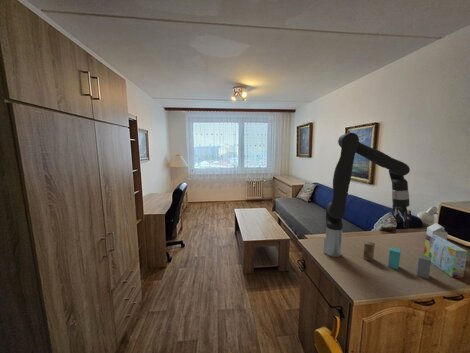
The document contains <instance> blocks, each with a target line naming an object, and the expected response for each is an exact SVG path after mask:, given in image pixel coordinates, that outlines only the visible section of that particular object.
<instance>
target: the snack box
mask: <svg viewBox="0 0 470 353" xmlns="http://www.w3.org/2000/svg"><path fill="white" fill-rule="evenodd" d="M424 242H425V243H424V249H423V256H427V257H431V264H432V265H434V266H435V267H437V268H438V269H440V270H441V271H443V272H444V273H445V274H446V275H448V276H450V278H455V279H464V274H465V269H466V264H467V259H468V253H469V251H467V250H466V249H464V248H462V247H460V246H458V245H456V244H454V243H452V242H451V241H449V240H448V239H447V240H445V239H443V238H441V237H439V236H437V235H431V234H425V241H424Z"/></svg>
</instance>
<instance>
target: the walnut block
mask: <svg viewBox="0 0 470 353" xmlns="http://www.w3.org/2000/svg"><path fill="white" fill-rule="evenodd" d="M375 246H376V243H375V242H372V241H368V240H365V242H364V246H363V257H362V258H363V260H365V261H368V262H373V260H374V256H375V255H374V254H375Z"/></svg>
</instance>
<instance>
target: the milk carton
mask: <svg viewBox="0 0 470 353" xmlns="http://www.w3.org/2000/svg"><path fill="white" fill-rule="evenodd" d="M426 234H431V235H437V236H439V237H441V238H443V239H445V240H447V241H448V232H447V231H446V230H445V227H444V226H442V225H440V224H439V223H437V222H434V223H433V224H431V225H429V226H427V227H426ZM426 234H425V235H426Z"/></svg>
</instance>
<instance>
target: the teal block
mask: <svg viewBox="0 0 470 353" xmlns="http://www.w3.org/2000/svg"><path fill="white" fill-rule="evenodd" d="M401 250H402V249H399V248H395V247H392V246H391V247H390V248H389V255H388V263H387V267H388V268H390V269H393V270H394V269H395V270H399V268H400V259H401Z"/></svg>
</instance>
